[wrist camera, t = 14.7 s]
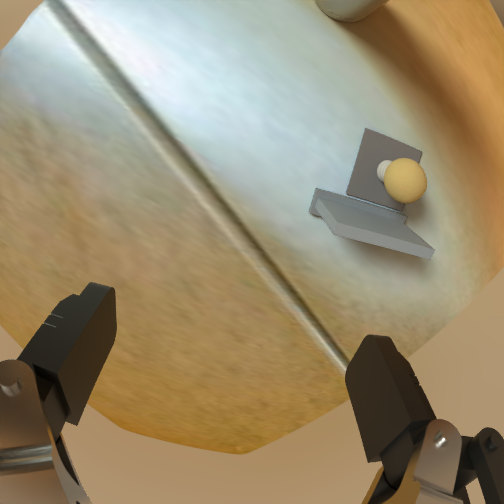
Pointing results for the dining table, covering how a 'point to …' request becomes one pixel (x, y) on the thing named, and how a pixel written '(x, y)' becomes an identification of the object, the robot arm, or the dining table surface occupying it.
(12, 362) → the robot arm
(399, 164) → the yellow light bulb
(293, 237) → the dining table surface
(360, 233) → the screen
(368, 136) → the mat
